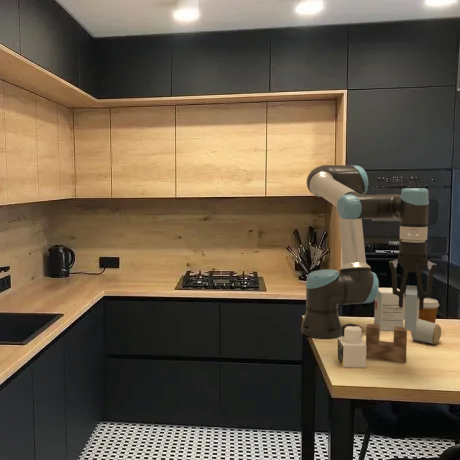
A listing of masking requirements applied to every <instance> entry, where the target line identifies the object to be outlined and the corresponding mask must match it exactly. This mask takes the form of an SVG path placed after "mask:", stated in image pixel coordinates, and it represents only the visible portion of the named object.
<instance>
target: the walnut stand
mask: <svg viewBox="0 0 460 460" xmlns="http://www.w3.org/2000/svg"><path fill="white" fill-rule="evenodd" d="M380 333H381V332H380V325H375V324H374V323H367V324H366V327H365V344H366V359H371V360H380V361H388V362H396V363H403V364H406V363H407V345H408V344H407V341H408V330H405V329H404V326H403V327H395V326H394V331H393V341H386V340H380Z"/></svg>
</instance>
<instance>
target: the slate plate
mask: <svg viewBox="0 0 460 460" xmlns="http://www.w3.org/2000/svg"><path fill="white" fill-rule="evenodd" d="M404 296H405V320H404V325H403V327H404V329H405V330H407V331H412V330H414V331H416V318H417V297H418V285H408V284H406V285H405V295H404Z"/></svg>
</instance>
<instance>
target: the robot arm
mask: <svg viewBox="0 0 460 460" xmlns="http://www.w3.org/2000/svg"><path fill="white" fill-rule="evenodd" d="M368 178H369V177H368V174H367V172H366V171H365V169H364V168H363V167H362V166H360V165H353V164H348V165H347V164H346V165H345V164H343V165H340V164H338V165H337V164H333V165H330V164H323V165H319V166H317V167H315V168H313V169H312V170H311V171H310V172H309V174H308V175H307V177H306V187H307V189H308V191H309V192H310V193H311V194H312V195H314V196H315V197H319V198H321V197H322V198H323V199H324V200H326V201H327V202H329V203H330V204H332V205H333V206H334V207H336V211H337V214H338V225H339V237H340V248H341V258H342V259H341V260H342V265H341V266H340V267H339V269H338V270H336V269H326V268H325V269H318V270H314V271H311V272H310V273H308V274H307V276H306V284H305V289H306V291H305V292H306V293H305V298H306V299H305V301H306V302H305V308H306V309H305V314H304V317H303V319H302V322H301V327H300V331H301V333H302V334H303V335H305V336H306V337H311V338H313V339H314V338H315V339H336V338H340V337H342V326H343V325H342V323H341V319H340V317H339V313H338V312H339V310H338V309H339V307H338V306H339V305H341V306H342V305H358V304H359V305H363V304H370V303H373V302H374V301H375V298H376V296H377V293H378V289H379V288H380V287H379V286H380V283H379V282H380V281H379V278H378V276H377V274H376V273H375V272H373V271H372V269H371V268H372V267H371V266H370V265H369V264H368V263H367V261H366V260H367V259H366V252H365V251H366V249H365V239H364V231H363V220H372V219H373V220H381V219H383V220H386V219H390V220H392V219H393V220H395V219H396V220H399V240H400V241H399V246H398V248H399V249H398V256H397V258H396V259H395V260H390V261H389V262H388V266H389V268H390V270H391V288H392V290H393V294H394V295H397V296H398V297H399V307H400V308H403V316H402V319H403V321H405V296H406V295H405V291H406V285H407V281H408V275H409V274H408V273H416V274H415V275H416V280H417V281H416V282H417V283H416V284H417V292H418V296H417V318H416V321H419V309H422V310H423V305H424V298H430V297H431V296H432V295H431V294H432V289H433V282H434V273H435V271H436V269H437V268H438V265H437V264H436V263H435V262H434V263H433V262H431V261H429V259H428V257H427V256H428V255H427V254H428V250H427V249H428V242H426V241H427V240H428V224H429V206H430V205H429V204H430V200H429V190H428V189H427V188H425V187H424V188H422V187H420V188H419V187H417V188H416V187H415V188H413V187H412V188H411V187H408V188H407V187H406V188H402V189H401V192H400V194H396V193H393V194H391V193H390V194H367V191H368V188H369V187H368V186H369V179H368ZM398 265H400V267H401V268H402V270H403V272H402V278H401V282H400V289H399V290H400V291H398V290H397V288H398V284H397V283H398V281H397V267H398ZM426 266H427V269H428V275H427V283H426V290H425V292H424V288H423V287H424V286H423V282H422V280H423V279H422V273H421V271H423V269H424V268H425V267H426ZM403 295H404V296H403Z"/></svg>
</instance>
